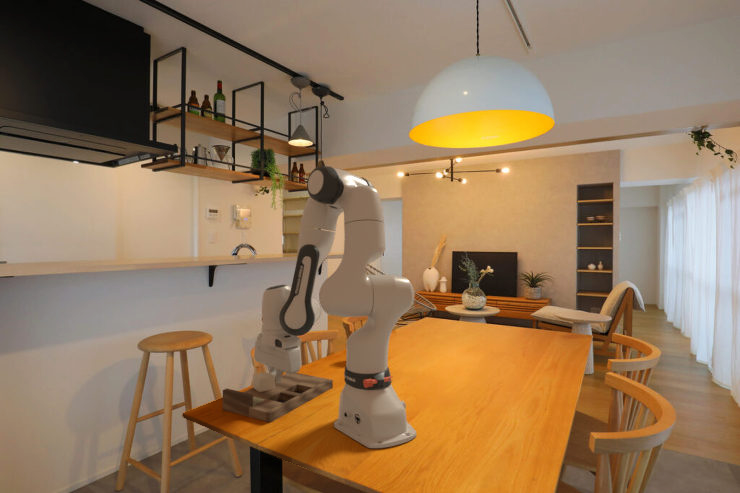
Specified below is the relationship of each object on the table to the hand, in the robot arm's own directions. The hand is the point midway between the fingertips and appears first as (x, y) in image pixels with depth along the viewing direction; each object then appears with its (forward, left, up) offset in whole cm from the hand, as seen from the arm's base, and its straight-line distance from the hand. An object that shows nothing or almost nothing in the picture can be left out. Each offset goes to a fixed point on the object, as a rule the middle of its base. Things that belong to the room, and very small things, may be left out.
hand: (276, 381), depth 128 cm
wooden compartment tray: (-3, -1, -4) cm, 5 cm away
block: (0, +4, -2) cm, 4 cm away
